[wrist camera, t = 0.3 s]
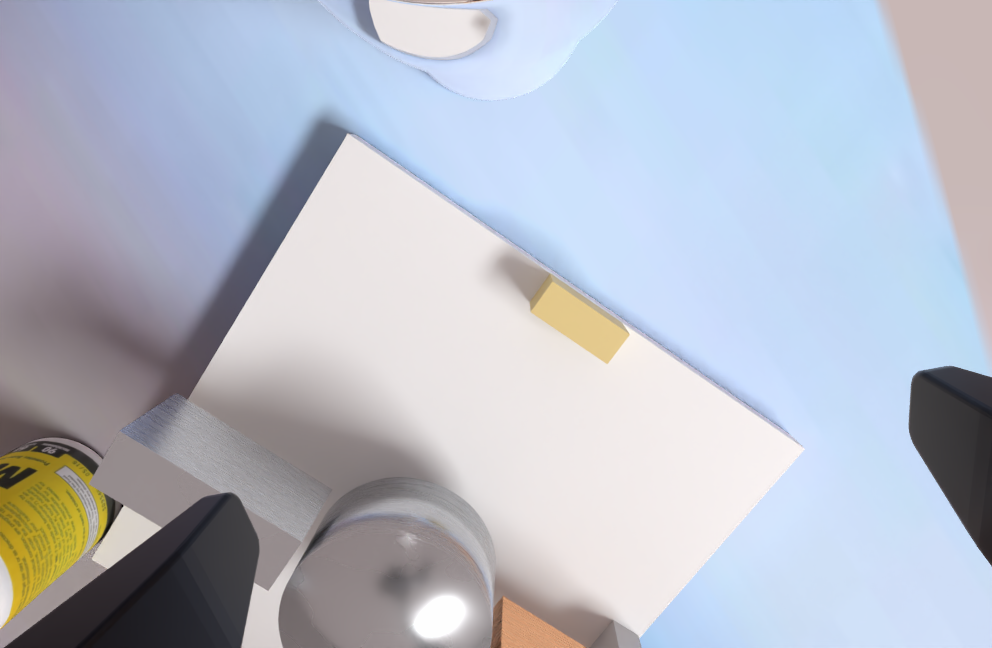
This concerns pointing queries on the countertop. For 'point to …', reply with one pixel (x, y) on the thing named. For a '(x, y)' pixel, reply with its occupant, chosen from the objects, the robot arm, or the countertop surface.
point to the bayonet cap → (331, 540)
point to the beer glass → (476, 38)
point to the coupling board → (482, 405)
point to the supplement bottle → (47, 517)
